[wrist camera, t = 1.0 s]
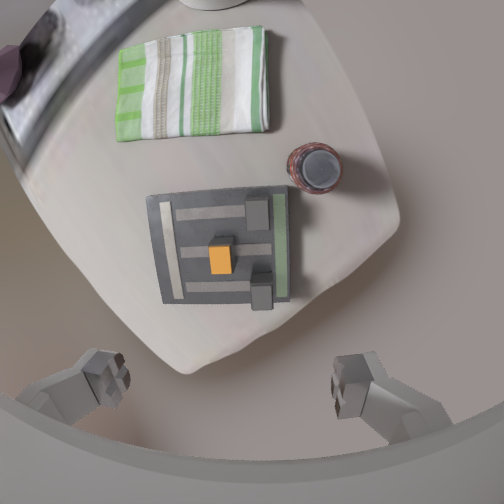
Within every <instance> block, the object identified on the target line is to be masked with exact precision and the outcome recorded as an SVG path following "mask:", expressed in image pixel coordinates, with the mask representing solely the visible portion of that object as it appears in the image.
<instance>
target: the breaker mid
mask: <svg viewBox="0 0 504 504" xmlns="http://www.w3.org/2000/svg"><path fill="white" fill-rule="evenodd" d="M208 251H209V260H210V268H211V274H232V273H234V271H235V267H236V252H235V240H234V237H218V238H212V240H211V241H210V242H209V244H208Z"/></svg>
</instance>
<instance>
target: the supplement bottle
mask: <svg viewBox="0 0 504 504" xmlns="http://www.w3.org/2000/svg"><path fill="white" fill-rule="evenodd" d="M287 172H288V175H289V177H290V179H291V180H292V181H293V182H294V183H295V184H296V185H297V186H298V187H299V188H301V189H302V190H304V191H305V192H308V193H311V194H317V195H319V194H325V193H328V192H330V191H331V190H333V189H334V188H335V187H336V186H337V185H338V183H339V182H340V180H341V177H342V173H343V166H342V161H341V159H340V157H339V155H338V154H337V152H336V151H335V150H334V149H333V148H331V147H330V146H328V145H325V144H323V143H317V142H314V143H309V144H305V145H303V146H301V147H299V148H297V149H295V150H294V151H293V152H292V153H291V154H290V156H289V158H288V161H287Z"/></svg>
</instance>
